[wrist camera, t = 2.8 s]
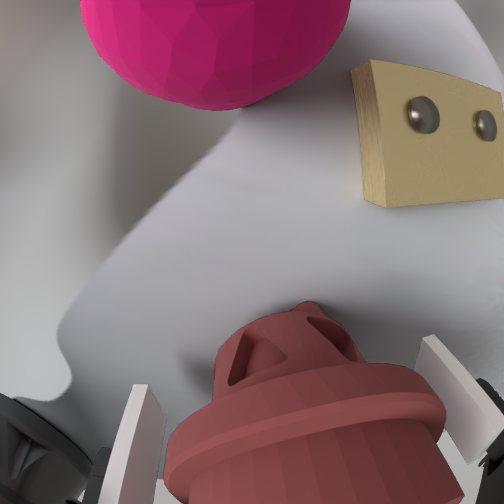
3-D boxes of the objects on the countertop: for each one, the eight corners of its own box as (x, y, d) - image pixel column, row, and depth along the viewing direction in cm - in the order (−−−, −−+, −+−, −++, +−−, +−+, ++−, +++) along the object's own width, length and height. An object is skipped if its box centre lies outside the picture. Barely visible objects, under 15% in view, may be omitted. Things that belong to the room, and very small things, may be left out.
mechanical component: (325, 223, 12) (385, 358, 15) (148, 326, 13) (249, 425, 17) (564, 462, 1) (478, 514, 4) (75, 568, 2) (267, 589, 5)
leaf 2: (364, 199, 12) (389, 209, 10) (350, 71, 10) (373, 57, 8) (484, 191, 12) (510, 199, 10) (477, 94, 10) (504, 92, 8)
